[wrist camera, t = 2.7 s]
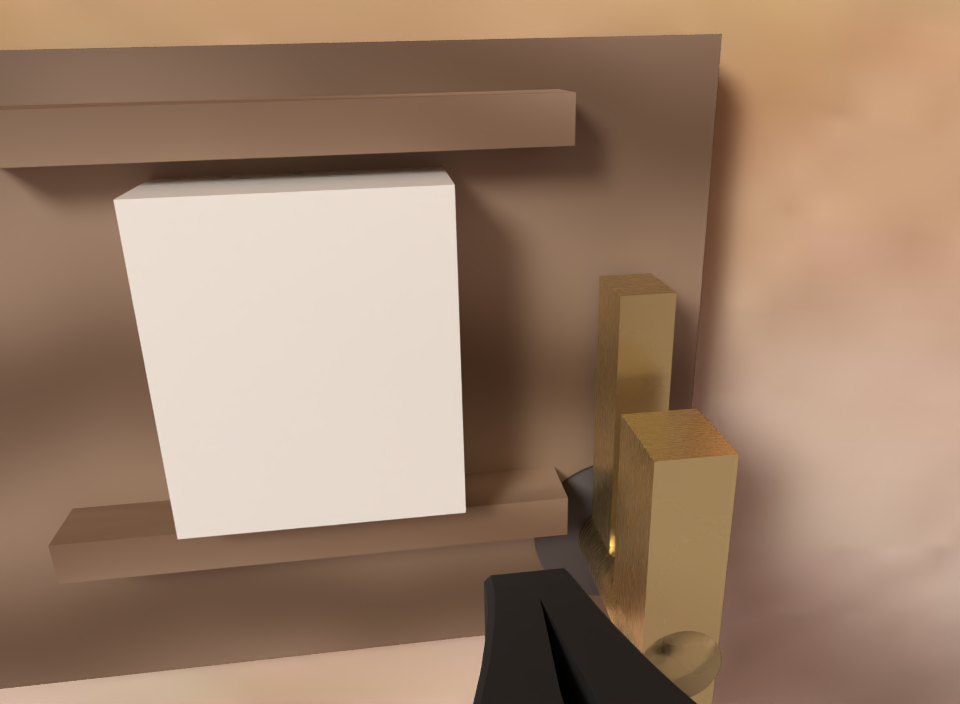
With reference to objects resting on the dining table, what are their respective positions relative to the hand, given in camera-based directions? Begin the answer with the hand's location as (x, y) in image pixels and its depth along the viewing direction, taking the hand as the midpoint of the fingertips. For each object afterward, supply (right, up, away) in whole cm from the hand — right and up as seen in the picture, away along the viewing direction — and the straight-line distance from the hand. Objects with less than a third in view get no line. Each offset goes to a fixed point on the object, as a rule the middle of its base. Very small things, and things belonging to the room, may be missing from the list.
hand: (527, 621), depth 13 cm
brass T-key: (+3, +1, +7) cm, 7 cm away
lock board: (-5, +4, +7) cm, 10 cm away
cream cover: (-4, +5, +5) cm, 8 cm away
